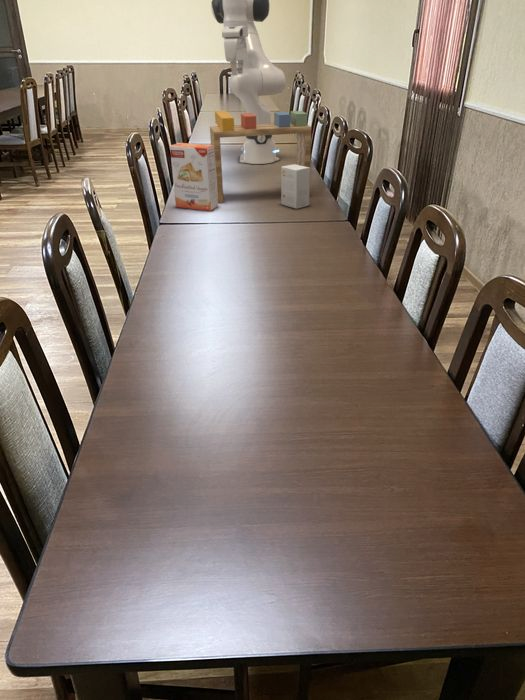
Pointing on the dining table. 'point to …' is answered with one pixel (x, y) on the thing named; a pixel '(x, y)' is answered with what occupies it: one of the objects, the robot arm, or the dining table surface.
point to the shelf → (261, 129)
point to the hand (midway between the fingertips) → (237, 74)
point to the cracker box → (194, 176)
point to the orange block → (224, 120)
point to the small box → (295, 186)
